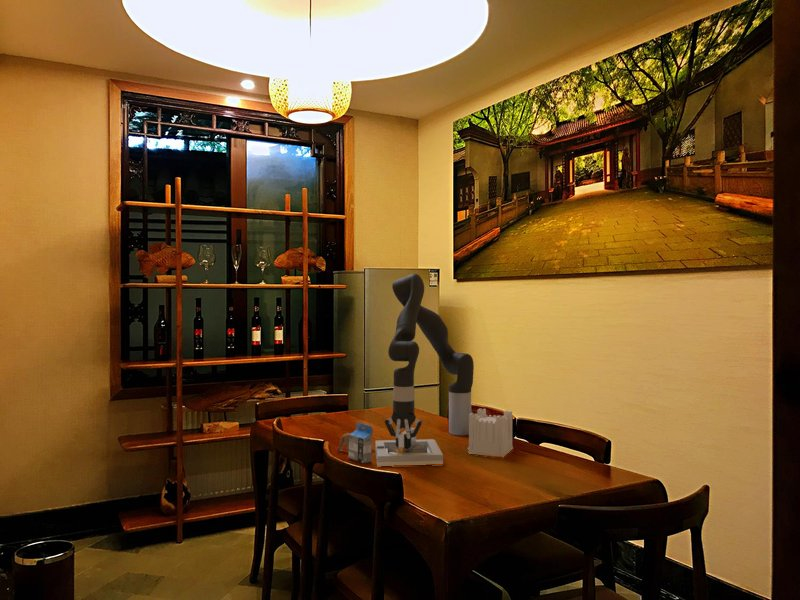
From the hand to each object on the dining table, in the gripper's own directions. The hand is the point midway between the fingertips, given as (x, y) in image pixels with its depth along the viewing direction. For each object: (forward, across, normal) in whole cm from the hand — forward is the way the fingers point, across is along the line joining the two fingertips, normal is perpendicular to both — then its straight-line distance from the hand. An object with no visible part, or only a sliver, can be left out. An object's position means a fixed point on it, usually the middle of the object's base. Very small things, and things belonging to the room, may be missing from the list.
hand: (403, 448), depth 208 cm
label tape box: (+4, +15, +3) cm, 16 cm away
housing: (+4, -1, -4) cm, 6 cm away
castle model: (+4, -28, -17) cm, 33 cm away
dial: (+2, -1, -4) cm, 4 cm away
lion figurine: (+5, +20, -10) cm, 22 cm away
